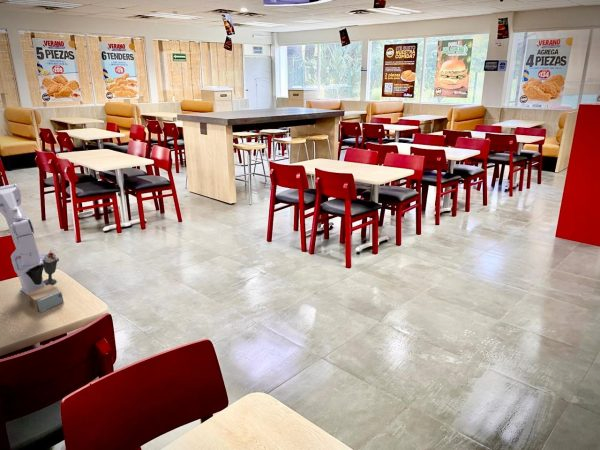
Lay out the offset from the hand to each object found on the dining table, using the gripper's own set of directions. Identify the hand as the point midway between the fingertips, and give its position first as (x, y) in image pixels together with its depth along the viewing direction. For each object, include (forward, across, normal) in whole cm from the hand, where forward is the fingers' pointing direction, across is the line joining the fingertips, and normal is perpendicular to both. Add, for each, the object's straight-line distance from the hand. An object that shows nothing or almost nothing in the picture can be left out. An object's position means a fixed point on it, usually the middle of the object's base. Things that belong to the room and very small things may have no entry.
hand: (38, 283), depth 172 cm
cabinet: (+9, +1, 0) cm, 10 cm away
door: (+9, -2, -4) cm, 10 cm away
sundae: (+9, +17, +9) cm, 21 cm away
